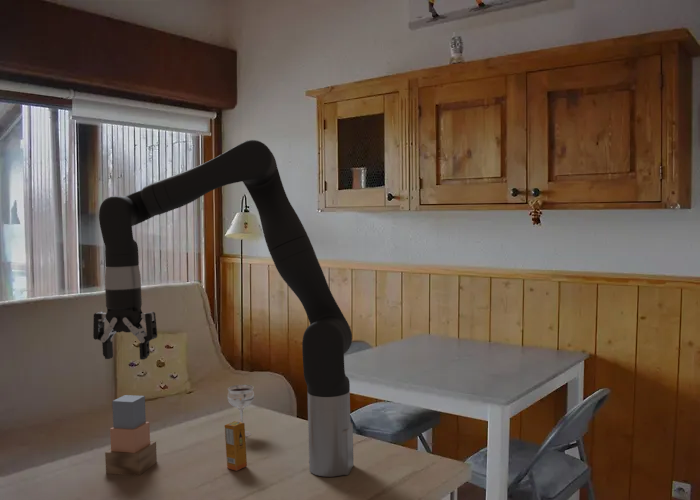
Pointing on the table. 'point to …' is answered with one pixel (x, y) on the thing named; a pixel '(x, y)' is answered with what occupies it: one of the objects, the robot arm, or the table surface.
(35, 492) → the table surface
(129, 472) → the base block
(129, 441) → the top block
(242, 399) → the wineglass
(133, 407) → the slate block
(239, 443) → the supplement box
